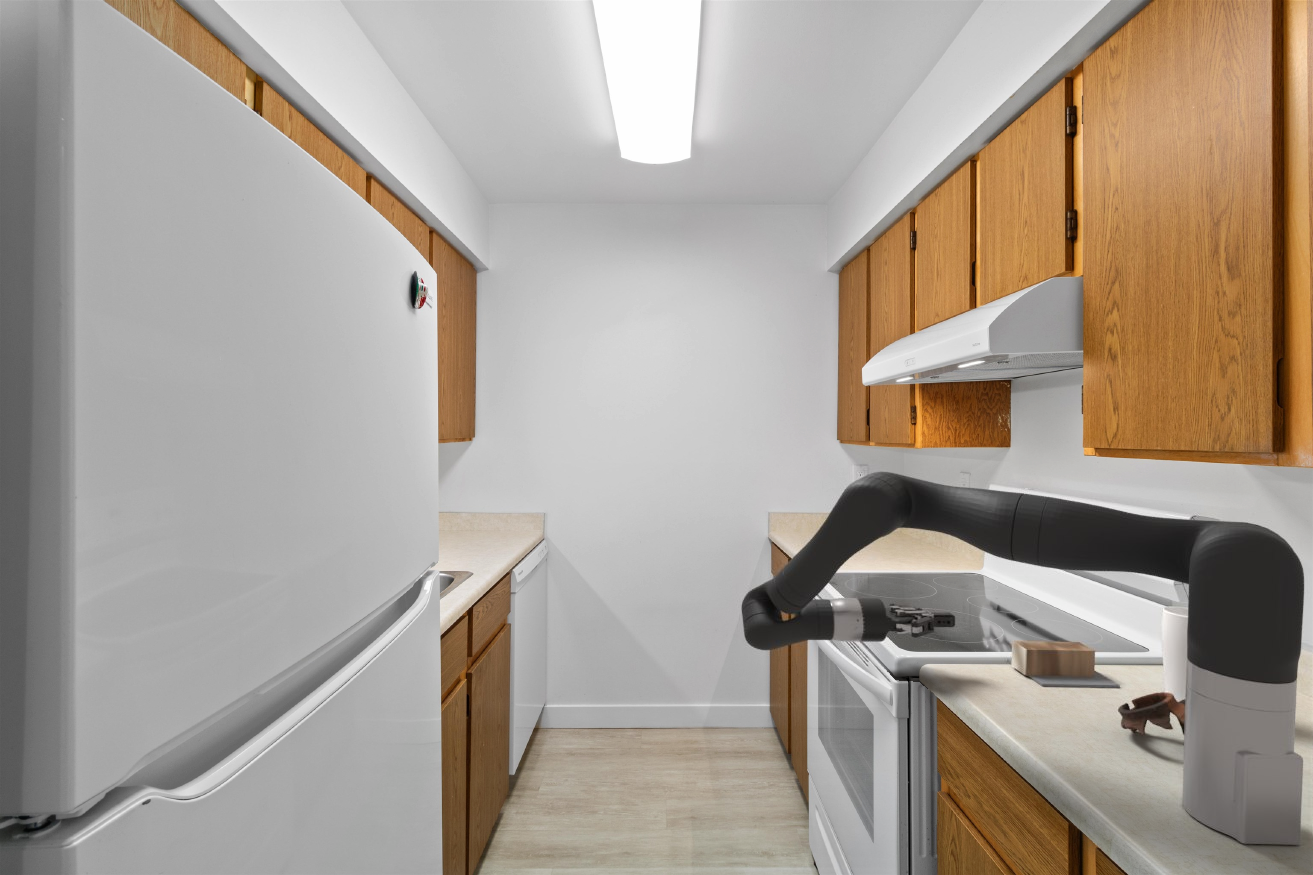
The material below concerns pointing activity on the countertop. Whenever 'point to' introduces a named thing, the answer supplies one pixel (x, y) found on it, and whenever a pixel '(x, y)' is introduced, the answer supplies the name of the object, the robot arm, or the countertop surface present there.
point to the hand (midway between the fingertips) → (953, 619)
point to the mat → (1074, 680)
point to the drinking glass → (1174, 650)
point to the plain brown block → (1053, 658)
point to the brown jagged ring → (1152, 712)
